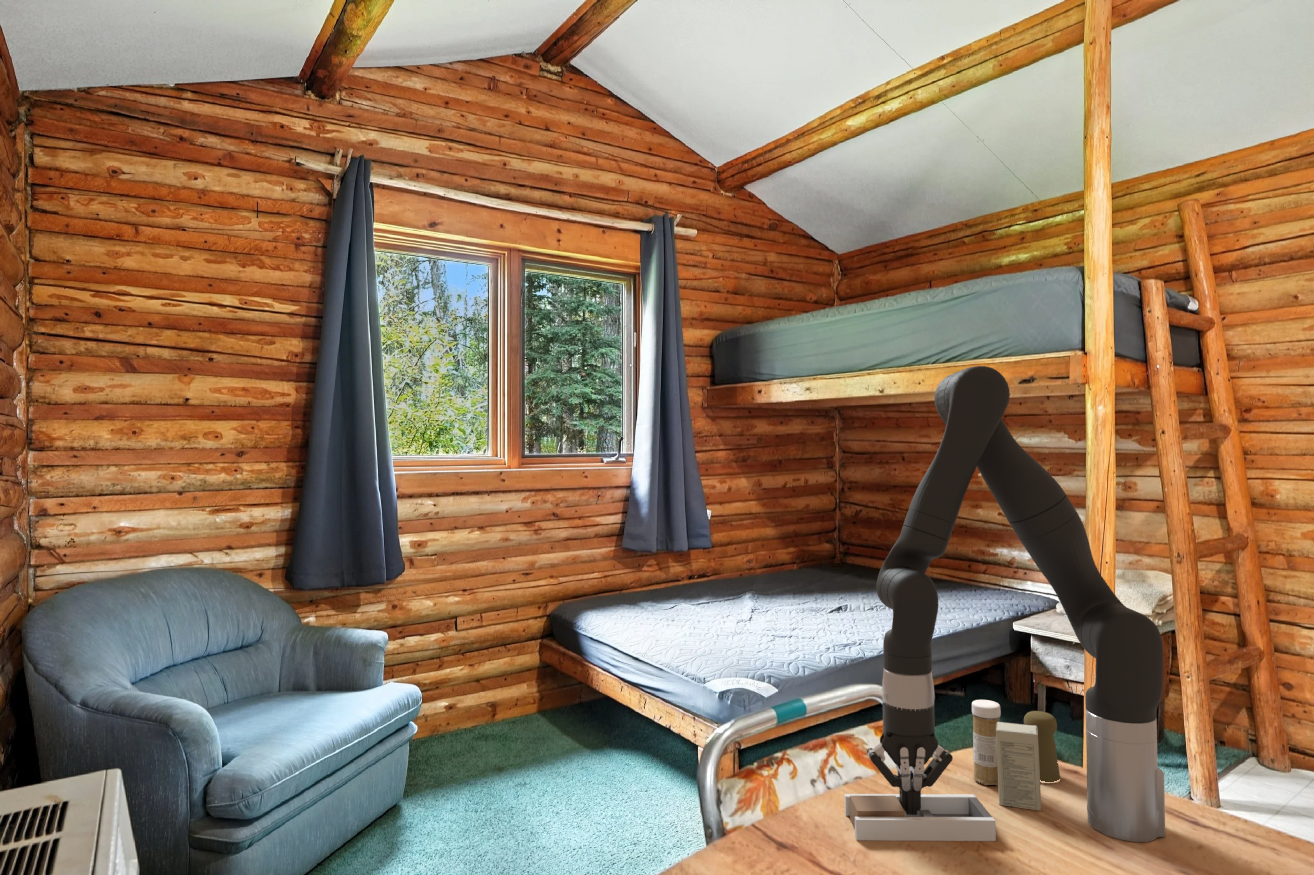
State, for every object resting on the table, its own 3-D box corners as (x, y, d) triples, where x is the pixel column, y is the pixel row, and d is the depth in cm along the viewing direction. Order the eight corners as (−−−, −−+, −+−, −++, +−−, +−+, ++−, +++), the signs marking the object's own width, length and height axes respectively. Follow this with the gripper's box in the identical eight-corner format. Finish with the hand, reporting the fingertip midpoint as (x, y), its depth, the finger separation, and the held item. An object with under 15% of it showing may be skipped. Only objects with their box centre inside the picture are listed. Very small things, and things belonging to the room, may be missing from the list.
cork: (1065, 785, 132) (1064, 720, 132) (1027, 782, 133) (1026, 718, 133) (1054, 770, 138) (1053, 708, 138) (1018, 768, 139) (1017, 706, 139)
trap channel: (974, 813, 122) (973, 794, 122) (995, 841, 114) (995, 820, 114) (844, 812, 123) (844, 793, 123) (856, 840, 115) (856, 819, 115)
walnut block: (895, 821, 121) (895, 795, 121) (905, 837, 116) (904, 810, 116) (850, 821, 121) (849, 795, 121) (857, 837, 116) (857, 810, 116)
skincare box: (1040, 800, 126) (1039, 725, 126) (1041, 812, 122) (1040, 734, 123) (997, 793, 129) (996, 719, 129) (996, 804, 125) (995, 728, 125)
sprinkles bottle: (1006, 781, 134) (1004, 702, 134) (995, 789, 131) (993, 709, 131) (979, 773, 137) (978, 696, 137) (968, 781, 134) (967, 703, 134)
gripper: (943, 690, 122) (946, 801, 122) (858, 691, 123) (860, 801, 123) (960, 706, 115) (963, 824, 115) (870, 707, 115) (872, 824, 115)
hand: (910, 812), depth 119 cm, fingers closed
